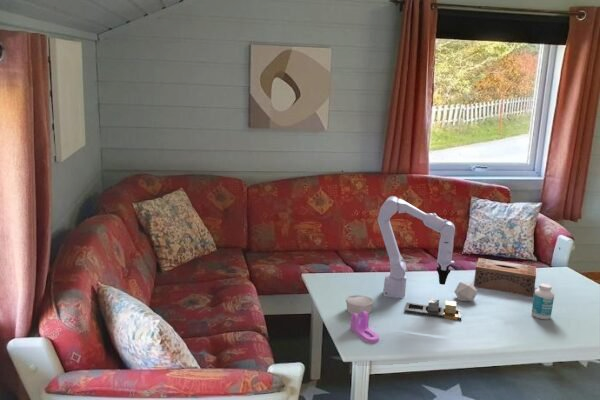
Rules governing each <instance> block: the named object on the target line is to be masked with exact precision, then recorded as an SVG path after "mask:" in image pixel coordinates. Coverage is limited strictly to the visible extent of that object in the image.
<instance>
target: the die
mask: <svg viewBox="0 0 600 400" xmlns="http://www.w3.org/2000/svg"><path fill="white" fill-rule="evenodd" d="M454 294H455V295H456V298H457V299H458V300H459V301H461V302H474V300H475V299H476V296H477V295H478V290H477V289H476V287H474V283H473V282H472V281H469V282H468V281H466V282H465V281H460V282H459V283H458V285H457V286H456V287H455V289H454Z"/></svg>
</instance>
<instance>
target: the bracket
mask: <svg viewBox="0 0 600 400" xmlns="http://www.w3.org/2000/svg"><path fill="white" fill-rule="evenodd" d="M369 321H370V315H369V314H368V313H367V312H366V311H364V312H361V314H360V316H359V315H358V314H357V313H353V314H350V325H349V329H350V330H351V331H352V330H353V331H352V332H354V333H355V334H356V335H357V334H358V335H357V336H358V337H359V338H361V339H362V340H363V341H365V342H366V343H370V344H371V343H373V344H376V343H378V342H379V341H380V335H379V334H378V333H376V332H375V331H374V330H372V329H371V328H370V327H369ZM369 335H370V336H369Z"/></svg>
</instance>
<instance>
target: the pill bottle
mask: <svg viewBox="0 0 600 400" xmlns="http://www.w3.org/2000/svg"><path fill="white" fill-rule="evenodd" d="M552 288H553V287H552V285H551V284H548V283H543V282H541V283H539V284H538V288H536V289H534V295H533V298H532V299H533V300H532V305H531V306H532V309H531V315H532V316H533V317H535V318H536V319H539V318H540V320H549V319H551V317H552V312H553V305H554V299H555V293H554V291H552Z"/></svg>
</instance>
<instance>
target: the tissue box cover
mask: <svg viewBox="0 0 600 400" xmlns="http://www.w3.org/2000/svg"><path fill="white" fill-rule="evenodd" d="M474 272H475V273H474V280H473V281H474V282H473V285H474V287H475V288H479V289H486V290H492V291H497V292H505V293H509V294H510V293H511V294H515V295H516V294H517V295H520V296H521V295H522V296H528V297H534V293H535V286H536V279H537V266H535V265H529V264H521V263H515V262H509V261H501V260H493V259H487V258H482V257H478V259H477V262H476V264H475V270H474Z"/></svg>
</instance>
